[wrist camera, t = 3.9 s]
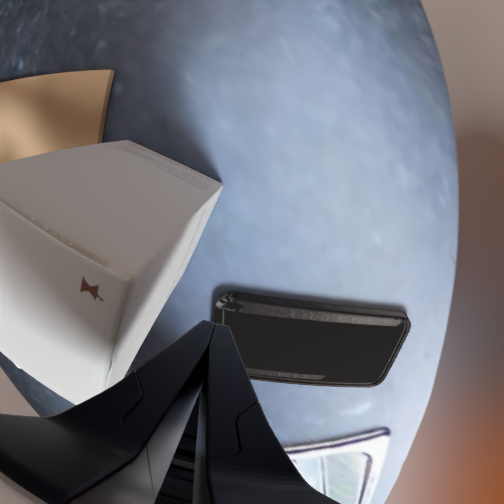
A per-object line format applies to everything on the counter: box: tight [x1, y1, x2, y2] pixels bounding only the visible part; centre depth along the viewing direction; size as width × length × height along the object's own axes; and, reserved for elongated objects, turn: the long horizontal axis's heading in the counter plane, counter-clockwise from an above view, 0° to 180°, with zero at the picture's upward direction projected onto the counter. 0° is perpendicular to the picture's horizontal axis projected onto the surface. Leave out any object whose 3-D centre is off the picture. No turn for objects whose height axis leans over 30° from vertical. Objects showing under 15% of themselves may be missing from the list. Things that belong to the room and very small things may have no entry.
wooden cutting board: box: [0, 70, 115, 164], centre depth 18 cm, size 18×17×1 cm
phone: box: [214, 292, 411, 387], centre depth 22 cm, size 8×1×15 cm
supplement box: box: [0, 140, 224, 405], centre depth 13 cm, size 7×7×13 cm
